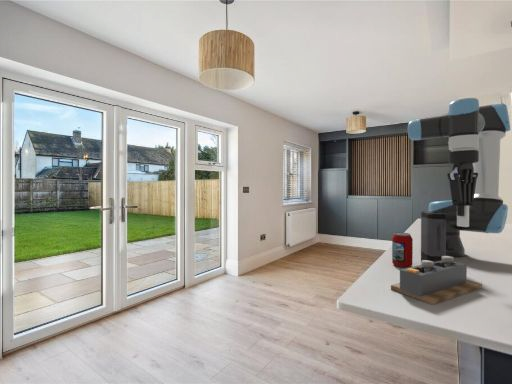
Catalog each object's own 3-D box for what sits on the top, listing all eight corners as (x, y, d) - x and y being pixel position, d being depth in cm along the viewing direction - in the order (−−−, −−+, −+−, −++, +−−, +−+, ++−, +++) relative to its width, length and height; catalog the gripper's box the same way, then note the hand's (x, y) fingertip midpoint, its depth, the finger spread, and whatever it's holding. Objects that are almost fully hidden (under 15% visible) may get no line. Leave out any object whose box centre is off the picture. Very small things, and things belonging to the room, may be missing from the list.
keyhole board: (439, 276, 93) (439, 250, 93) (482, 288, 82) (482, 259, 82) (390, 289, 82) (390, 260, 82) (433, 304, 71) (433, 271, 71)
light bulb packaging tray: (445, 276, 89) (445, 257, 89) (466, 282, 84) (466, 262, 83) (399, 289, 79) (399, 267, 78) (421, 296, 73) (421, 273, 73)
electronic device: (447, 270, 100) (448, 213, 99) (428, 269, 101) (429, 213, 100) (436, 263, 109) (436, 211, 108) (419, 262, 110) (419, 211, 109)
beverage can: (388, 263, 109) (388, 232, 109) (405, 262, 109) (405, 232, 109) (398, 268, 102) (399, 235, 102) (416, 267, 103) (416, 235, 102)
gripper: (461, 152, 94) (461, 223, 95) (438, 151, 88) (438, 226, 89) (488, 149, 87) (487, 225, 88) (465, 148, 81) (464, 230, 82)
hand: (462, 226), depth 88 cm, fingers closed
